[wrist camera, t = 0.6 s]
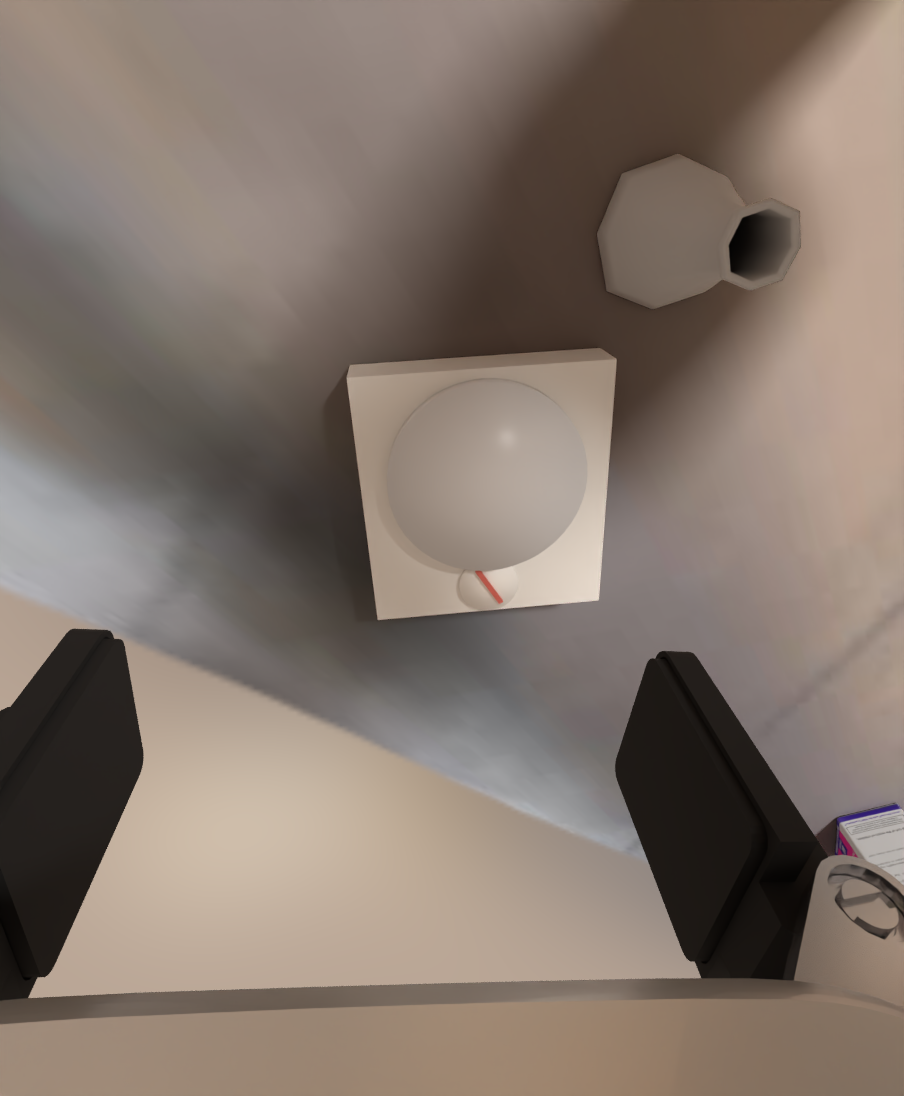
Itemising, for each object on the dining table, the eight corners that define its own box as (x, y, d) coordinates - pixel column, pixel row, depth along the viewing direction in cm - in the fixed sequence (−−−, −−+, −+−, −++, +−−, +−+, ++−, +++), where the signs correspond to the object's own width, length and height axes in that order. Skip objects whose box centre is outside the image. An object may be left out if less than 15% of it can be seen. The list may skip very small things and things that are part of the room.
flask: (713, 309, 35) (822, 344, 26) (586, 308, 34) (653, 343, 25) (745, 156, 31) (882, 136, 23) (604, 151, 31) (690, 129, 22)
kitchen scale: (350, 365, 35) (345, 382, 31) (600, 347, 35) (623, 363, 32) (378, 594, 42) (377, 629, 38) (585, 576, 42) (603, 609, 39)
